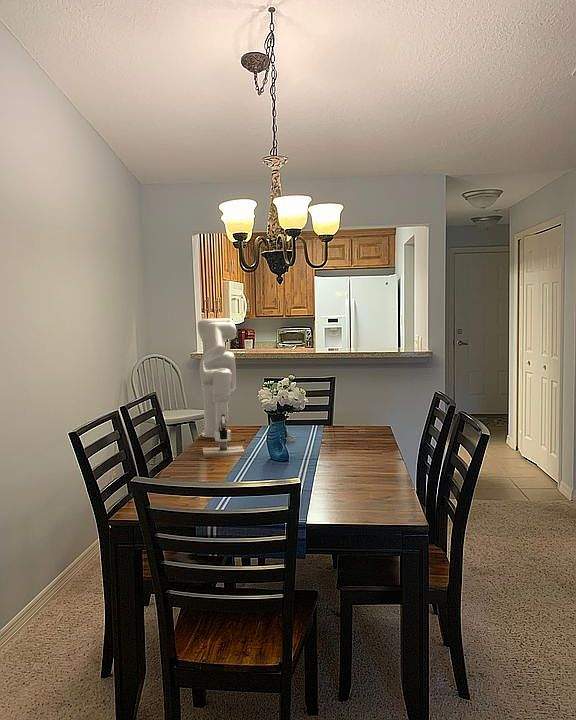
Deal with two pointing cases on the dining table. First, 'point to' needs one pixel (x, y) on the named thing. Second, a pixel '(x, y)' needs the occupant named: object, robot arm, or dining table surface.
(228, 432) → the ring
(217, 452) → the block
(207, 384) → the robot arm
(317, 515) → the dining table surface
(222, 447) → the dark domed cylinder
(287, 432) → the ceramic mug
